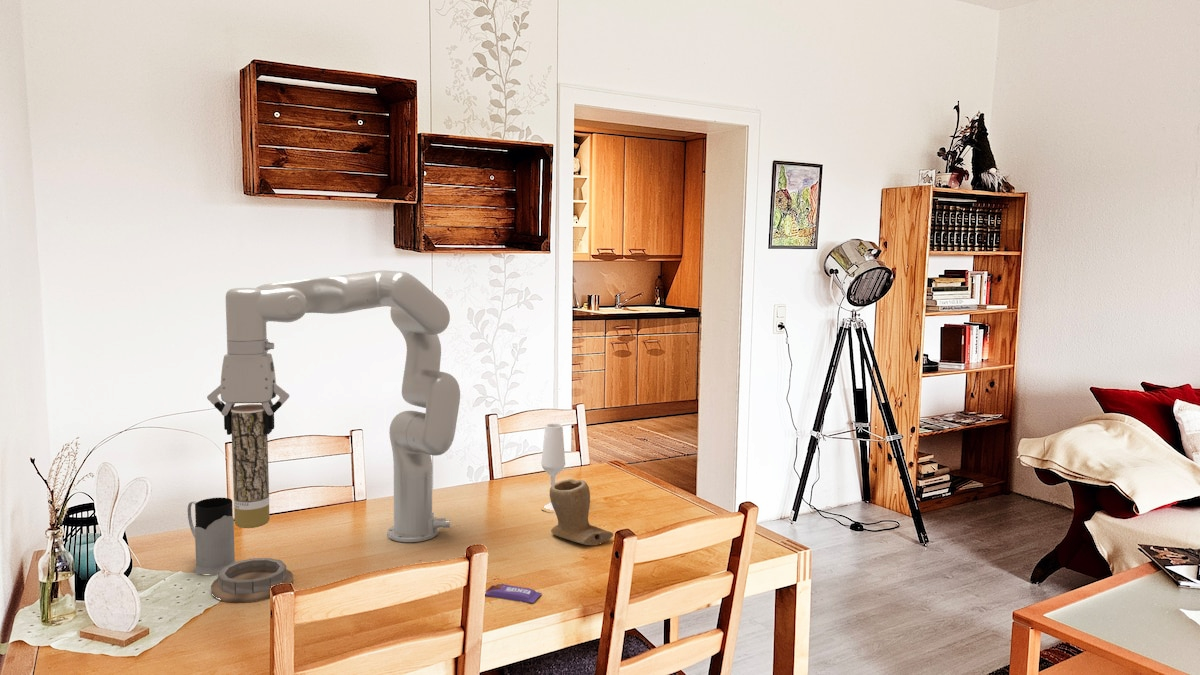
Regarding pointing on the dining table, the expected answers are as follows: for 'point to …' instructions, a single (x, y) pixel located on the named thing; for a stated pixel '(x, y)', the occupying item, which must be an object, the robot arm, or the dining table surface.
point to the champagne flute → (553, 453)
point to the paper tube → (250, 466)
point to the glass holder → (213, 534)
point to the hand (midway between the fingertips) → (249, 432)
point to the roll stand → (250, 580)
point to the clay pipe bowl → (575, 513)
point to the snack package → (513, 593)
